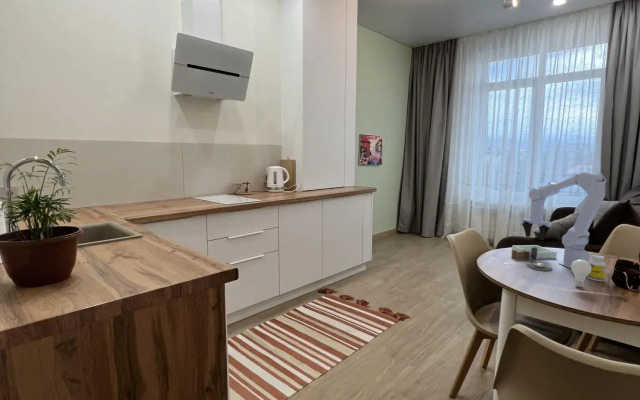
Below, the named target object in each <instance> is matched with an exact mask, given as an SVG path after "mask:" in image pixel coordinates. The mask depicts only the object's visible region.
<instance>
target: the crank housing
mask: <svg viewBox="0 0 640 400" xmlns="http://www.w3.org/2000/svg"><path fill="white" fill-rule="evenodd" d="M506 264H507V266H508V265H509V266H512V263H506V262H503V265H506ZM525 266H526V267H527V268H529V269H531V270H535V271H541V272H552V271H553V267H551V266H550V265H547V264H546V268H539V267H535V266H533V262H530V263H526V265H525Z"/></svg>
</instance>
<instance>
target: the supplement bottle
mask: <svg viewBox="0 0 640 400" xmlns="http://www.w3.org/2000/svg"><path fill="white" fill-rule="evenodd" d="M604 261H605V257H604V256H603V255H598V254H597V255H596V254H592V255H591V259H590V260H589V263H590V265H591V268H592V270H591V272H590V274H589V275H587V278H588V279H589V280H592V281H596V282H604V280H605V276H606V275H605V274H606V266H607V265H606V263H605V262H604Z"/></svg>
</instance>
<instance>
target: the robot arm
mask: <svg viewBox="0 0 640 400" xmlns="http://www.w3.org/2000/svg"><path fill="white" fill-rule="evenodd" d="M606 184H607V179H606V178H605V176H604V174H602V173H601V172H597V171H596V172H583V171H582V172H580V173H577V174H574V175H572V176H570V177H567V178H566V179H564V180H562V181H560V182H552V181H551V182H547V184H546V185H544V186H542V185H541V186H539V187H538V188H532V189H530V191H529V192H528V197H529V199H530V209H529V211H530V213H529V218H523V217H522V218H521V222H522V223H521V225H522V227H523V230H524V233H525V237H526V238H527V237H529V238H530V237H531V233H532V227H533V225H538V228H539V240H540V241H542V240H545V237H546V235H547V234H548V231H549V230H550V229H551V227H552V222H550V221H549V222H548V221H544V209H545V203H546V199H547V198H549V197H552V196H554V195H557V194H559V193H560V191H561V190H563V189H566V188H568V187H572V186H577V185H578V186H579V187H580V189H582V190H583V191H585V192H586V195H587V197H586V200H585V201H584V204H583V206H582V208H581V210H580V212H579V214H578V215H577V218H576V219H575V222H574V224H573V226H572V227H570V228H569V229H568V230H567V232H566V233H565V234H564V235H563V236H562V237H561V243H562V245H563V247H564V252H563V262H558V264H559V265H561V266H563V267H566V268H569V269H571V264H572V262H573V261H575V260H578V259H582V260H585V261H587V262H589V261H591V256H590V253H589V252H588V251H587V250H585V247H586V246H587V245H588V244H589V236H590V234H591V233H590V232H589V231H588V230H589V228H590V227H591V224H592V223H593V221H594V218H595V216H596V215H597V212H598V211H599V208H600V206H601V204H602V203H603V201H604V198H605V196H606Z"/></svg>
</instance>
